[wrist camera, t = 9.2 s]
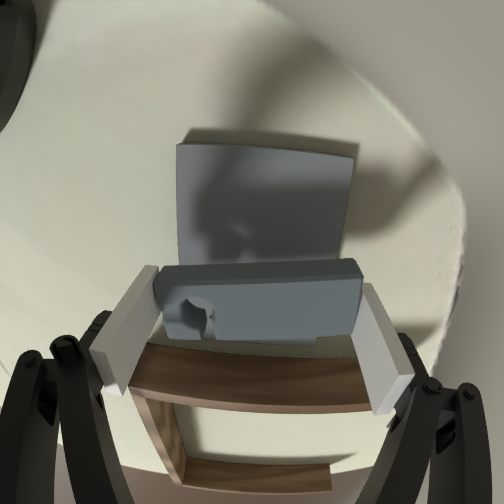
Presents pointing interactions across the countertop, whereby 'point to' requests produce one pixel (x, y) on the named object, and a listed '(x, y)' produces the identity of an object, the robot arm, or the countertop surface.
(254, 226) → the slate mat
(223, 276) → the bracket
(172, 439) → the u-shaped wooden frame
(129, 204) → the countertop surface
